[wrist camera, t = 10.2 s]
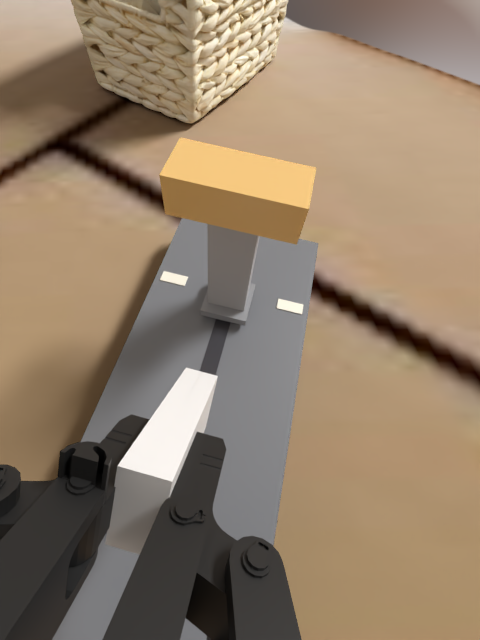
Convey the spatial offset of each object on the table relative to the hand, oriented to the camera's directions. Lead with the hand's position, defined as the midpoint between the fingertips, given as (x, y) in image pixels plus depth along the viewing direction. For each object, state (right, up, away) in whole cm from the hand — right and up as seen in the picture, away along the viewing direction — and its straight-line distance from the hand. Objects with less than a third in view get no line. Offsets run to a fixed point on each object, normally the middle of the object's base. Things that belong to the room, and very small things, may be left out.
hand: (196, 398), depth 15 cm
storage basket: (-4, +36, +28) cm, 46 cm away
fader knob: (+1, +5, +7) cm, 9 cm away
